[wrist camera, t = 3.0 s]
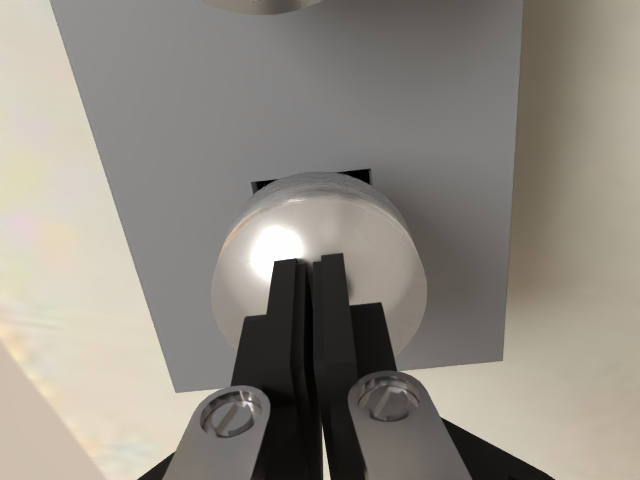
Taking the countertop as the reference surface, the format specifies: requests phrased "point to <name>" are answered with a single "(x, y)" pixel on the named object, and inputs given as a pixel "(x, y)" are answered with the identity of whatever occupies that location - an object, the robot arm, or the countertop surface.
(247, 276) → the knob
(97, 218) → the countertop surface
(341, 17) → the control panel
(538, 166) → the countertop surface
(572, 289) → the countertop surface
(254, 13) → the middle knob
